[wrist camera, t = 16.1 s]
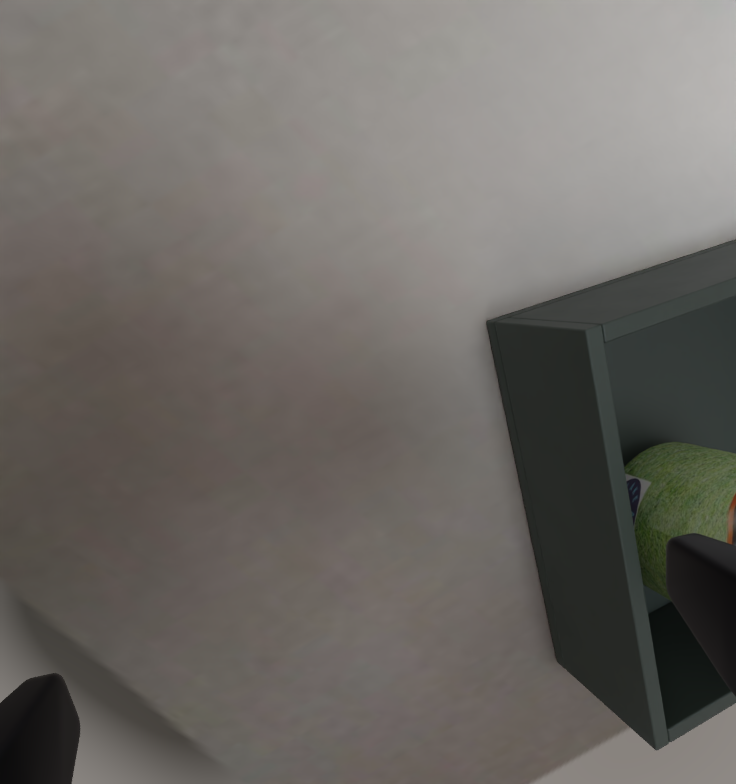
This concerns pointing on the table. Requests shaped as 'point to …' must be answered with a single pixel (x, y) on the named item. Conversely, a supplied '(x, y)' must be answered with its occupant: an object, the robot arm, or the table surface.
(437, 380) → the table surface
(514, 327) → the open square box
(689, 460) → the beverage can
